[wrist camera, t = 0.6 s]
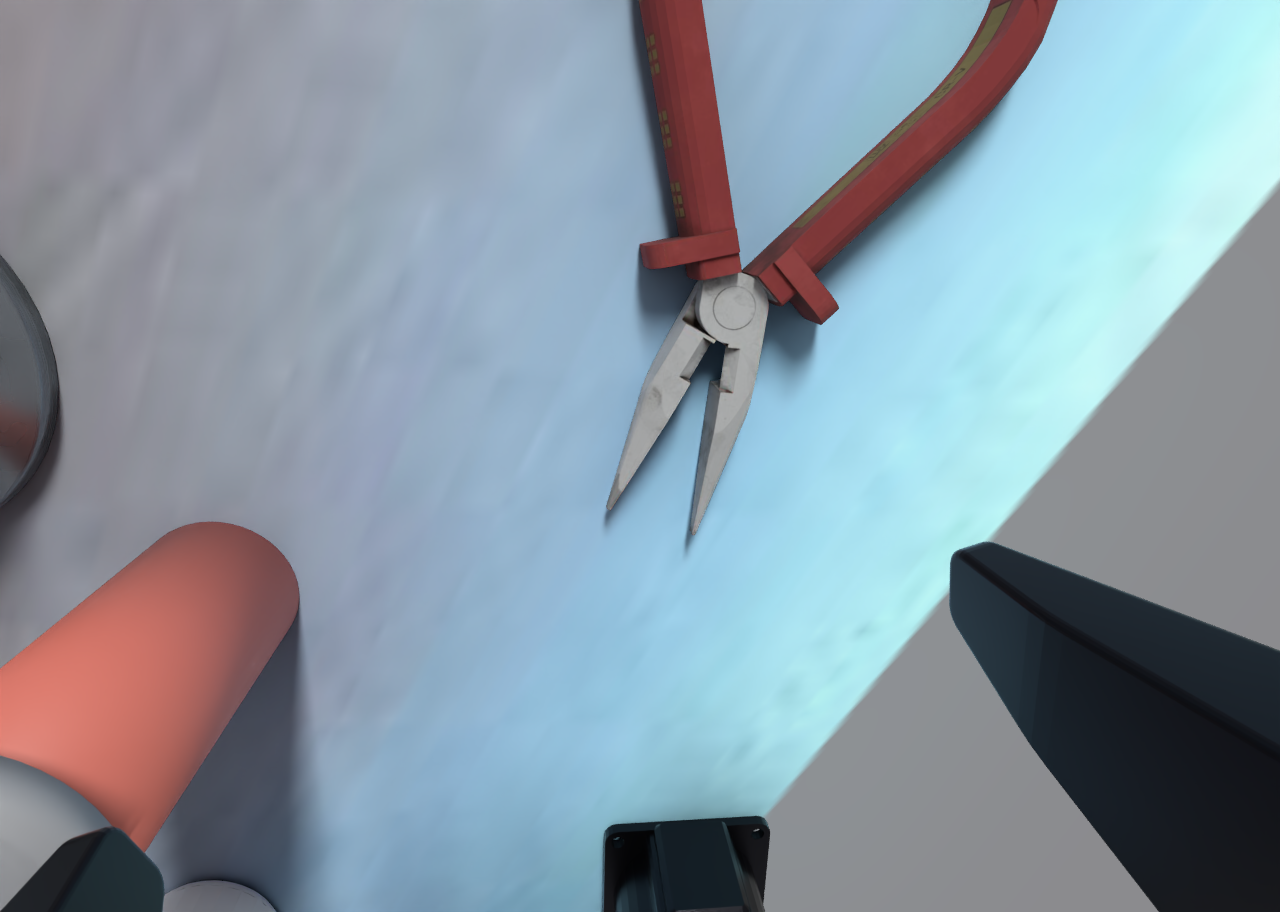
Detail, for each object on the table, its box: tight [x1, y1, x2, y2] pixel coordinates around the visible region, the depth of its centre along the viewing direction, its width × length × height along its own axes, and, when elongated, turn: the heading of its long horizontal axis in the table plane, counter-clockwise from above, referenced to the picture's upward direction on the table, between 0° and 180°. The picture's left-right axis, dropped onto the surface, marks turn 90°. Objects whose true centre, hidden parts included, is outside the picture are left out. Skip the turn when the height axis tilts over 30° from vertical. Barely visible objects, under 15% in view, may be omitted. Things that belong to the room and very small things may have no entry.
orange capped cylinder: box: [0, 522, 299, 911], centre depth 19 cm, size 6×6×12 cm
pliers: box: [606, 0, 1058, 535], centre depth 22 cm, size 12×21×3 cm, turn 162°
